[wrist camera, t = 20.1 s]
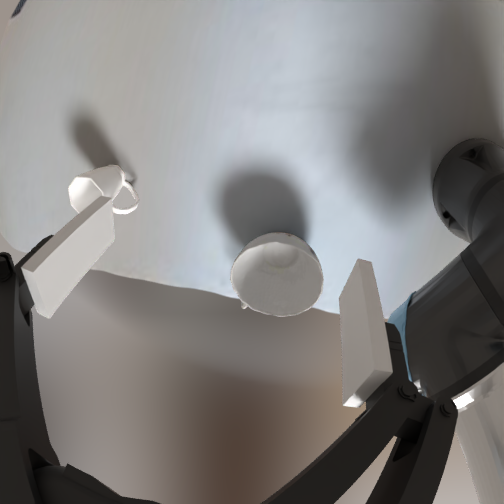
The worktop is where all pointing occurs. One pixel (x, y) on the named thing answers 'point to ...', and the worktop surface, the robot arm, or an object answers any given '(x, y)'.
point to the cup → (100, 188)
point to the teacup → (277, 275)
